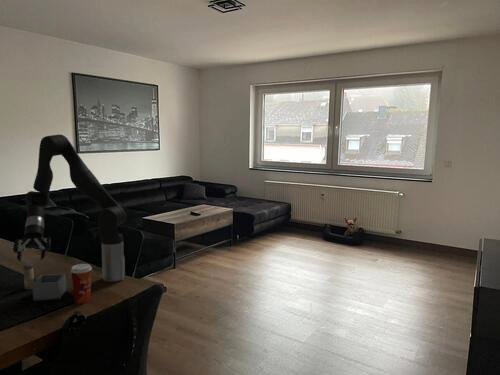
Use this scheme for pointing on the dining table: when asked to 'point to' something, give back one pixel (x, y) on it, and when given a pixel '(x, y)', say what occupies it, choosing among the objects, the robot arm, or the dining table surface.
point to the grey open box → (49, 287)
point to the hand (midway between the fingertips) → (30, 259)
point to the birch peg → (28, 276)
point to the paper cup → (81, 282)
